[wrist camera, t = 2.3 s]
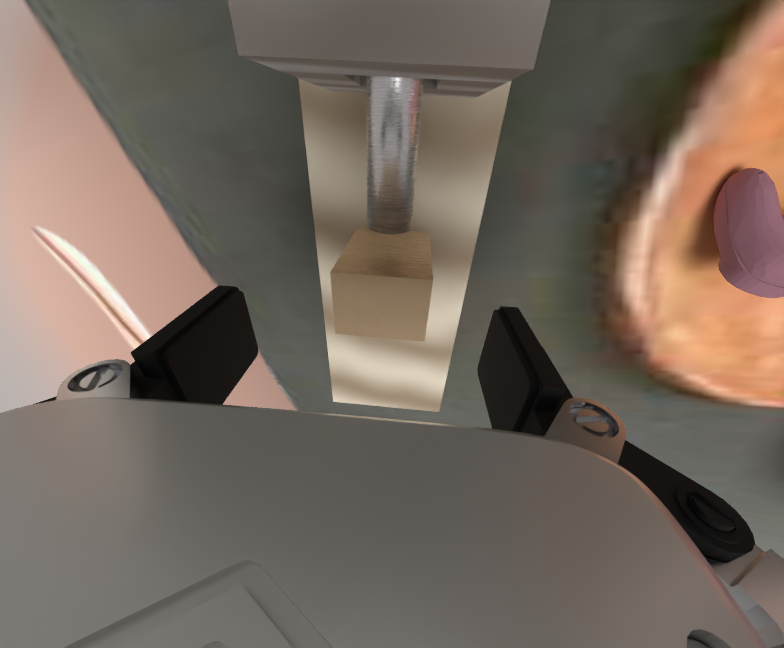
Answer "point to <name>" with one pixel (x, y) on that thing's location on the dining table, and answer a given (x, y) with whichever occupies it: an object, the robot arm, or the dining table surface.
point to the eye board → (435, 150)
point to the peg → (387, 226)
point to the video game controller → (751, 233)
